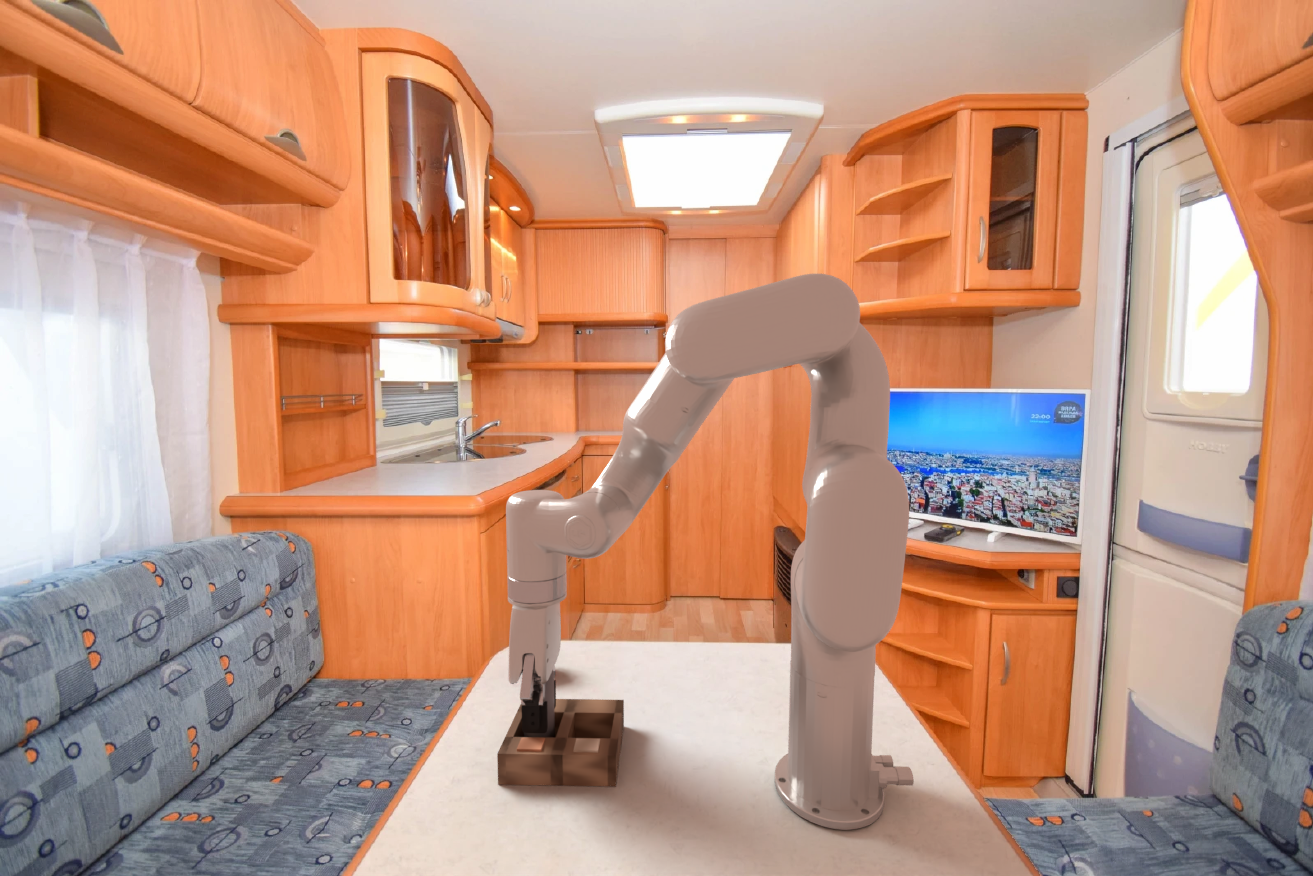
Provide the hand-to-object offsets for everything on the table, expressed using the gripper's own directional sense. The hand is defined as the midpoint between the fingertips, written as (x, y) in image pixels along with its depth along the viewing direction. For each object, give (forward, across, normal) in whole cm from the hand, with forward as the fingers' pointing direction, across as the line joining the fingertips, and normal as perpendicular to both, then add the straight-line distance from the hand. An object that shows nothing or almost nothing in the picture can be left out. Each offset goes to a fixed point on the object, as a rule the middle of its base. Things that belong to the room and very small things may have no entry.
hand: (539, 718), depth 72 cm
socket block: (+5, 0, +4) cm, 6 cm away
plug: (+4, 0, 0) cm, 4 cm away
